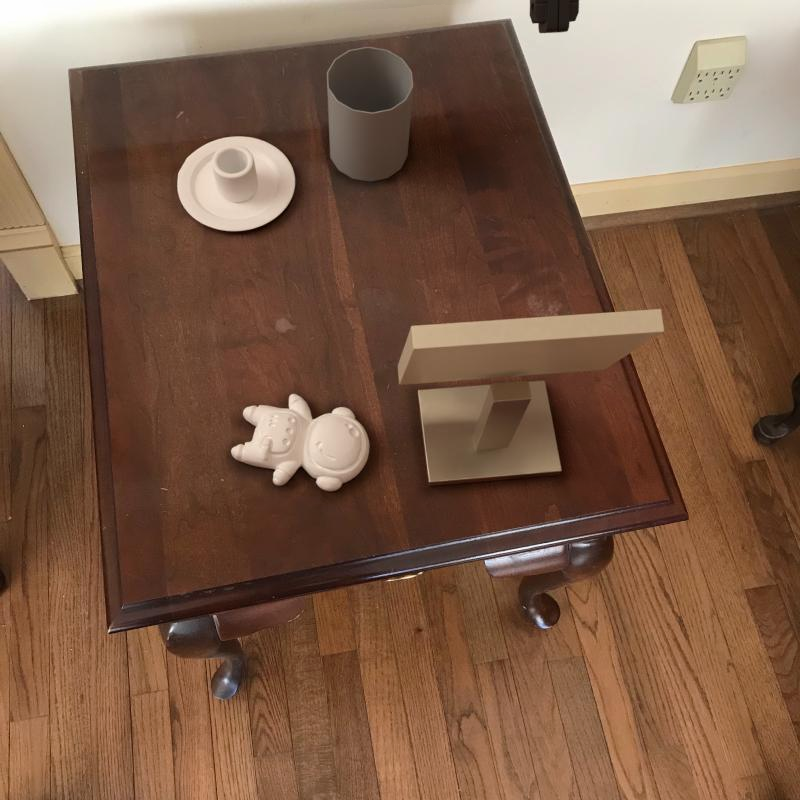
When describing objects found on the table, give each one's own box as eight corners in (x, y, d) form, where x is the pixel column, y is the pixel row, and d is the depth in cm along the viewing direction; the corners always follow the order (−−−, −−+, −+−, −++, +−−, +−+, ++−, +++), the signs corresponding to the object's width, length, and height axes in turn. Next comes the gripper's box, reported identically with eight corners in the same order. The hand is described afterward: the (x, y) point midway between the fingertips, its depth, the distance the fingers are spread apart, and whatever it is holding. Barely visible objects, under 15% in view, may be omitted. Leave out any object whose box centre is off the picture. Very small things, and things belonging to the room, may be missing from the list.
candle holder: (159, 168, 87) (150, 139, 83) (262, 125, 90) (258, 96, 86) (209, 253, 83) (202, 227, 79) (316, 205, 86) (314, 178, 82)
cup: (389, 191, 87) (393, 124, 78) (317, 166, 88) (312, 96, 79) (418, 133, 91) (425, 62, 81) (348, 109, 91) (348, 36, 82)
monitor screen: (397, 363, 68) (410, 323, 55) (601, 349, 69) (661, 306, 56) (399, 385, 67) (413, 349, 54) (604, 369, 69) (664, 331, 56)
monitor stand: (416, 394, 78) (427, 333, 67) (542, 385, 79) (572, 323, 68) (428, 486, 74) (440, 437, 63) (559, 475, 76) (594, 425, 64)
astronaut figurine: (255, 386, 78) (252, 372, 75) (379, 420, 77) (380, 407, 74) (223, 472, 74) (217, 460, 71) (352, 508, 73) (352, 498, 71)
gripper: (459, -329, 43) (462, 33, 50) (703, -330, 45) (676, 25, 51) (437, -274, 50) (443, 38, 57) (649, -275, 52) (631, 31, 58)
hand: (553, 31), depth 54 cm, fingers closed
